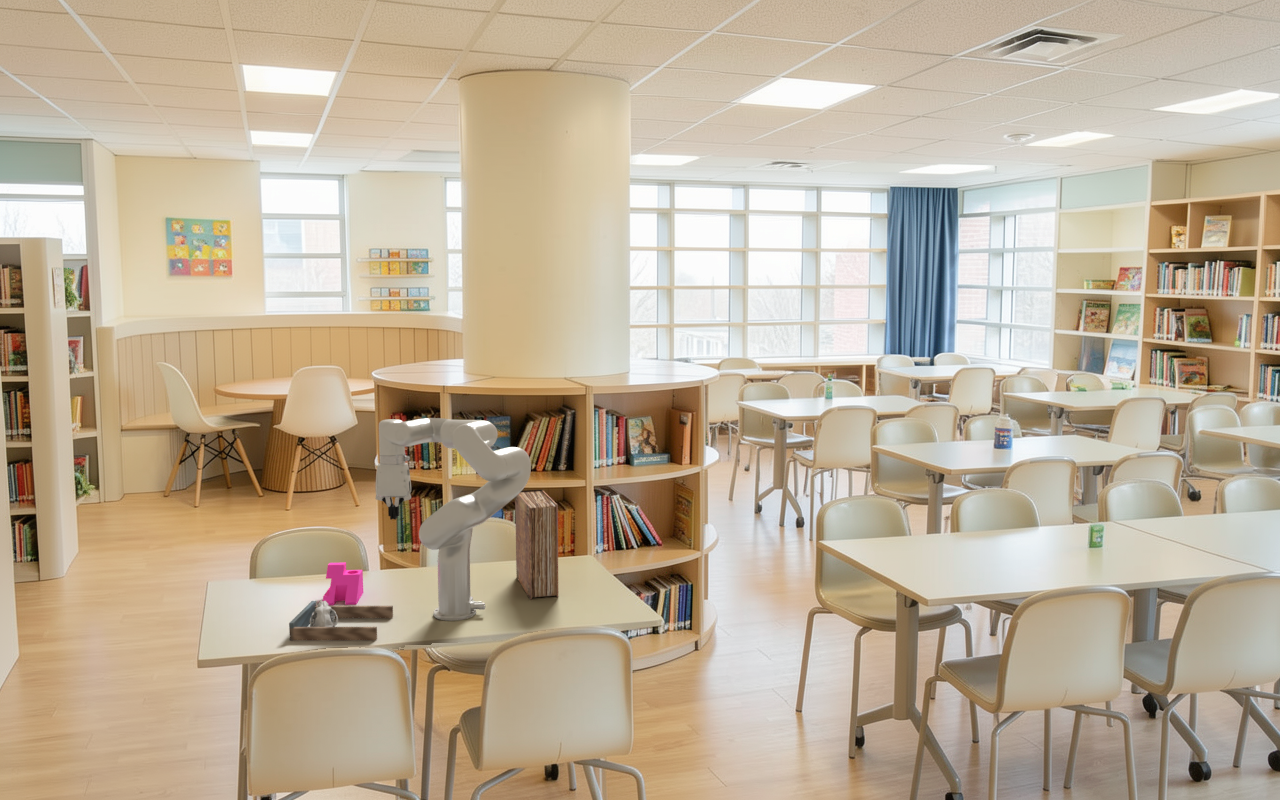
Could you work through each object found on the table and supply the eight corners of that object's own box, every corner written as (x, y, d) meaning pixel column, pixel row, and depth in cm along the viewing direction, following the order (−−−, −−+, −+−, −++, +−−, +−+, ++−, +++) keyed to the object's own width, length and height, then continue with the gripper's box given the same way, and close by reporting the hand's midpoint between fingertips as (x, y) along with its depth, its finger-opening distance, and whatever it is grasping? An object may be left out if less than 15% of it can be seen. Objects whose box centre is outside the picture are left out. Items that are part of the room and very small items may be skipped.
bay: (393, 617, 290) (392, 600, 289) (376, 640, 270) (375, 623, 270) (312, 617, 289) (311, 600, 289) (289, 640, 270) (289, 623, 270)
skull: (308, 629, 271) (306, 592, 279) (311, 644, 278) (310, 607, 285) (337, 625, 274) (335, 588, 281) (340, 639, 280) (338, 603, 288)
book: (558, 597, 308) (557, 504, 305) (529, 600, 306) (528, 506, 302) (542, 575, 332) (542, 489, 329) (516, 577, 330) (515, 490, 326)
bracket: (330, 593, 312) (329, 562, 311) (363, 593, 313) (362, 561, 312) (322, 606, 300) (321, 573, 299) (356, 604, 301) (355, 572, 300)
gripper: (419, 457, 300) (420, 515, 303) (371, 457, 300) (372, 515, 302) (414, 462, 293) (415, 521, 295) (364, 462, 293) (366, 521, 295)
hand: (394, 518), depth 299 cm, fingers closed
